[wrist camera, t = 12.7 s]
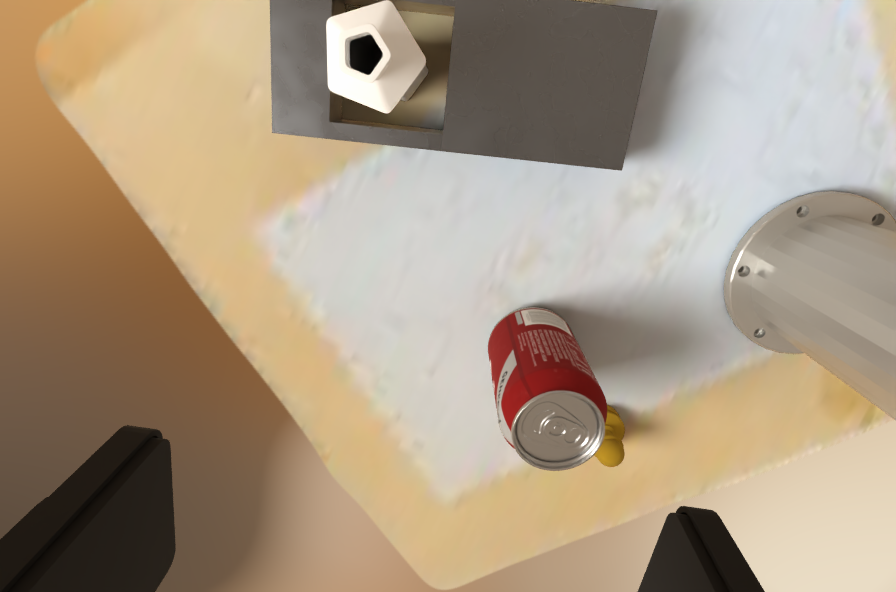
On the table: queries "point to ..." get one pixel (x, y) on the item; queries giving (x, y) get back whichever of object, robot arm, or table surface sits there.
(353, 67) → the perfume bottle
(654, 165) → the table surface
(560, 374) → the soda can
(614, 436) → the chess piece
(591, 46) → the grey block with hole
